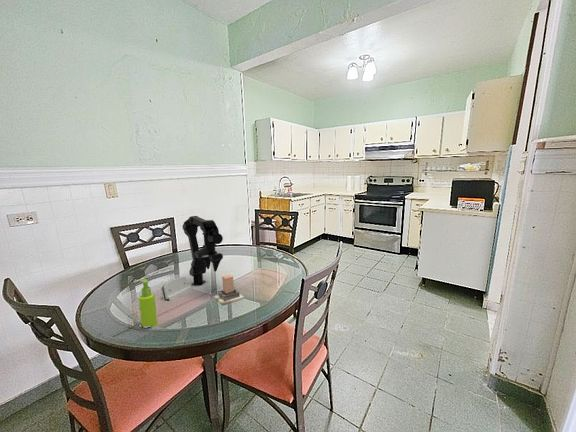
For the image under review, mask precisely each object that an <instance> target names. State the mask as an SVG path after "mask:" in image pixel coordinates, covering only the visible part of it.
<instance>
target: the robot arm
mask: <svg viewBox="0 0 576 432" xmlns="http://www.w3.org/2000/svg"><path fill="white" fill-rule="evenodd" d="M198 228H199V229H200V230H201V231H202V236H203V245H202V248H199V243H198V238H197V234H198V232H199V231H198V230H199V229H198ZM182 230H183V233H184V234H185V235H186V237H187V238H188V242H189V248H190V253H191V258H192V260H191V263H190V269H189V276H191V277H192V278H193V279H192V280H193V282H192V283H191V286H202V285H203V284H204V283H205V282H203V281H204V276H203V275H204V274H206V273H207V270H210V269H211V268H210V267H211V263H212V268H213V271H214V272H217V271H218V268H219V265H220V263H221V261H222V259H224V254H223V253H221V252H218V251H216V247H217V245H220V244H221V243H222V242H223V240H224V237H223V235H222V234H221V233H220V232H219V231H220V229H219V227H218V225H217V223H216V222H215V220H213V219H204V218H202V217H199V216H198V215H192V216H191V215H190V216H189V217H188V219H187V220H185V221H184V222H183V224H182Z"/></svg>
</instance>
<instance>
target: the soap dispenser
mask: <svg viewBox="0 0 576 432" xmlns="http://www.w3.org/2000/svg"><path fill="white" fill-rule="evenodd" d="M138 282H140V283H142V285H143V286H142V288H141V295H139V297H138V301H139V302H138V305H139V312H140V322H141V323H140V325H141V327H142V326H153V327H155V326H157V324H158V318H157V309H156V297H155V293H152V291H151V289H152V288H151V286H149V283H150V280H148V279H145V278H144V279H141V280H138ZM154 325H155V326H154Z"/></svg>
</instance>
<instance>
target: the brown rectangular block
mask: <svg viewBox="0 0 576 432" xmlns="http://www.w3.org/2000/svg"><path fill="white" fill-rule="evenodd" d="M221 278H222V280H221V281H222V290H223V294H224V295H228V294H232V293H234V289H235V283H234V276H233V275H231V274H227V275H226V274H225V275H222V276H221Z"/></svg>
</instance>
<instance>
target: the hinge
mask: <svg viewBox="0 0 576 432" xmlns="http://www.w3.org/2000/svg"><path fill="white" fill-rule="evenodd" d="M160 290H161V295H162V299H163V301H165V300H168V301H169V302H171V301H173V300H175V299H177V298H179V297H180V296H183V295H185V294H187V293H189V292H191V291H192V290H193V288H192V285H191V286H190V284H189V281H188V279H187V278H186V277H184V276H183V277H182V276H181V277H176V278H173V279H171V280H168V281H167V282H165V283H164V284H163V285H162V286H161V287H160Z"/></svg>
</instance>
